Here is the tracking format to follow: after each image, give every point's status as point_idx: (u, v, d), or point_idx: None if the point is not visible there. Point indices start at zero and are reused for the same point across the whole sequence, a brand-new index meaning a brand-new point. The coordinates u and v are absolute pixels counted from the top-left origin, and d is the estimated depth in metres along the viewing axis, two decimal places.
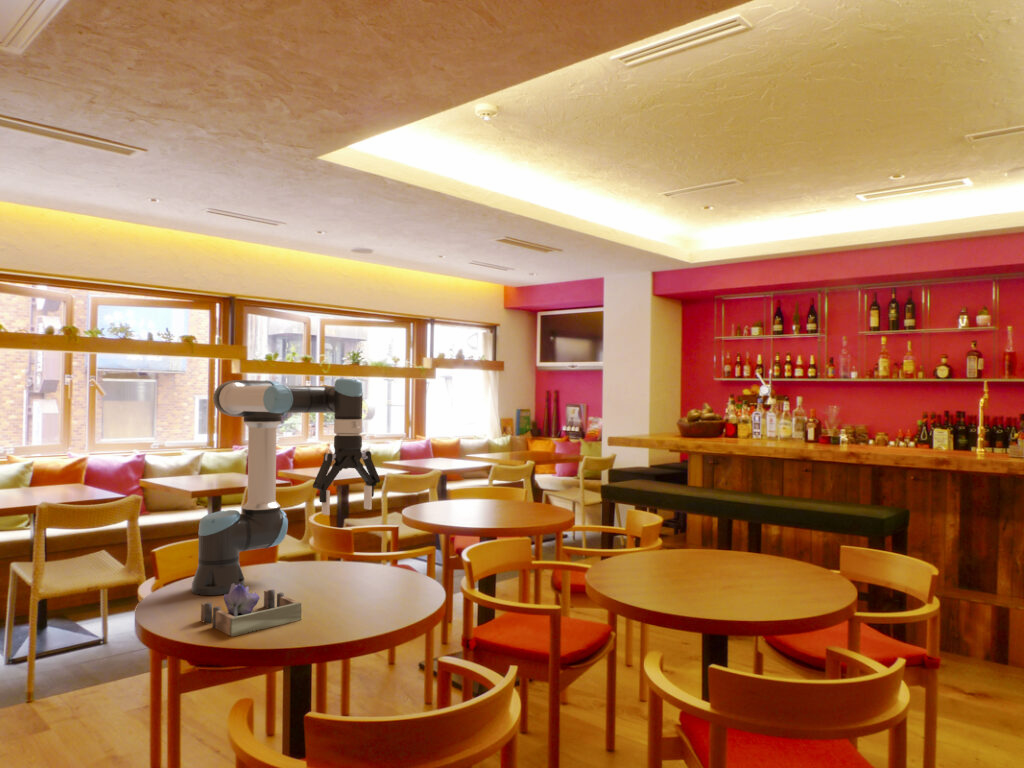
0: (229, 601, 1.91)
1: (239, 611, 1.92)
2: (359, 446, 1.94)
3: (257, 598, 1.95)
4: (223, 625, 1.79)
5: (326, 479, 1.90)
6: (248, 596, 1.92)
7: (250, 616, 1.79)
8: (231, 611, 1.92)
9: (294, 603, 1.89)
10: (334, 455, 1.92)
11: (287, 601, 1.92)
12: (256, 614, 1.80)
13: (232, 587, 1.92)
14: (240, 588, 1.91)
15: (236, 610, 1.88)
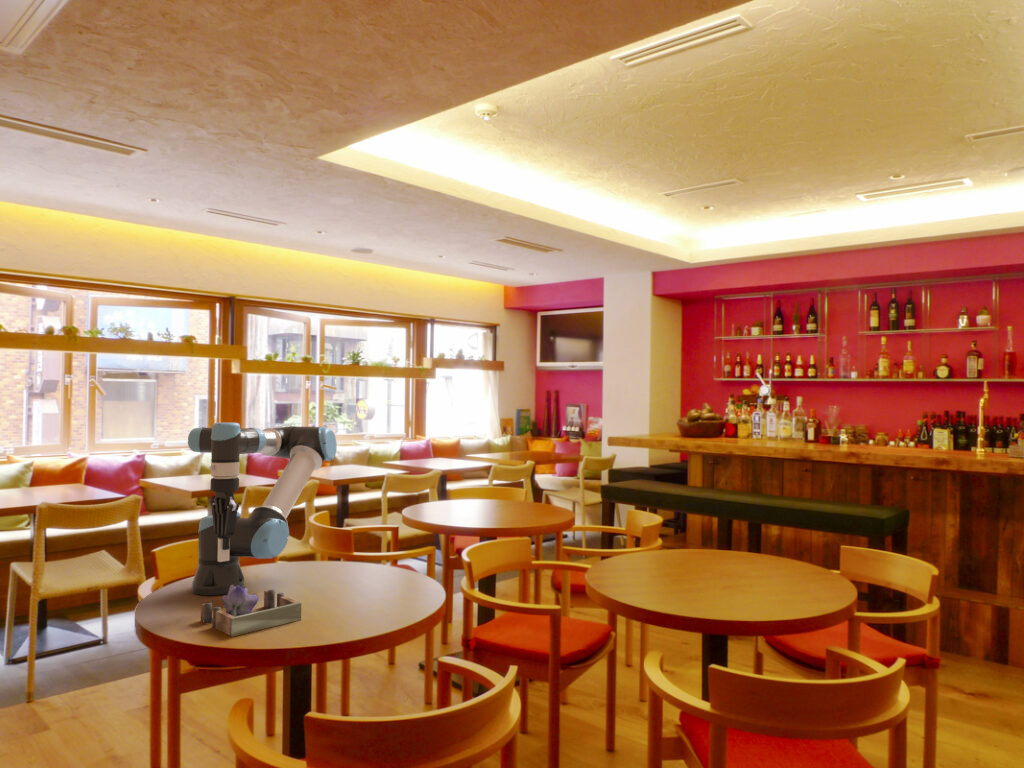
0: (228, 603, 1.89)
1: (238, 613, 1.90)
2: (214, 489, 1.97)
3: (256, 599, 1.93)
4: (223, 625, 1.79)
5: None
6: (246, 598, 1.90)
7: (250, 616, 1.79)
8: (230, 613, 1.90)
9: (294, 603, 1.89)
10: None
11: (287, 601, 1.92)
12: (256, 614, 1.80)
13: (231, 588, 1.91)
14: (239, 590, 1.90)
15: (235, 612, 1.87)
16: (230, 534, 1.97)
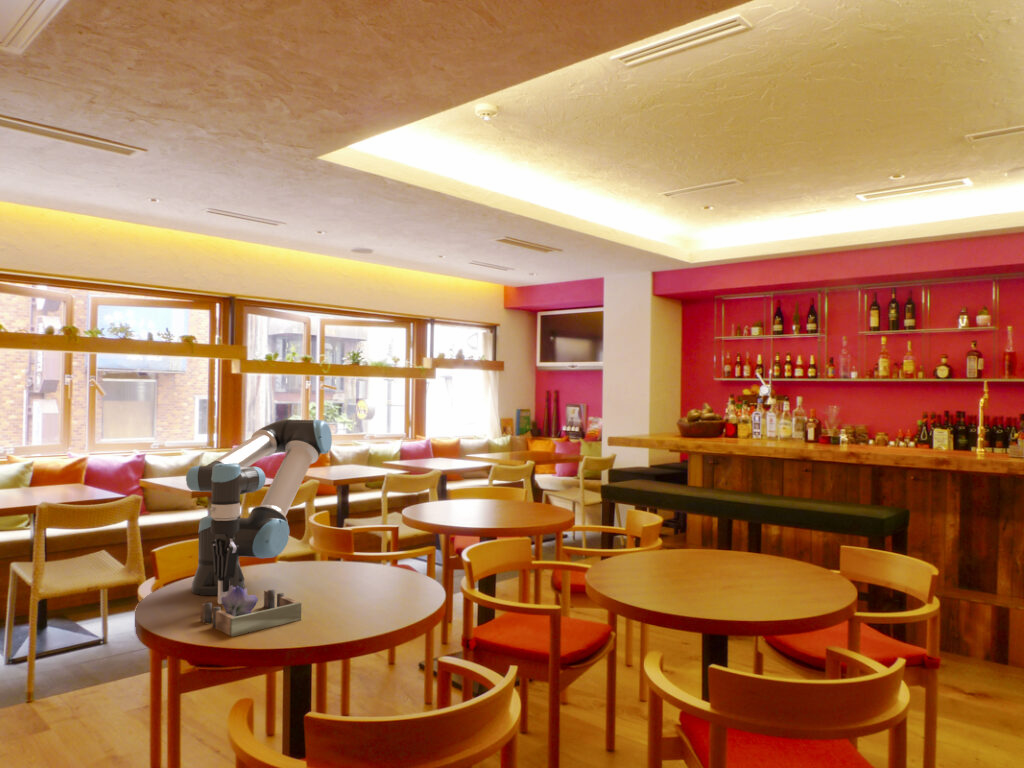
0: (228, 603, 1.89)
1: (237, 613, 1.90)
2: (214, 531, 1.96)
3: (255, 600, 1.93)
4: (223, 625, 1.79)
5: None
6: (246, 598, 1.90)
7: (250, 616, 1.79)
8: (229, 613, 1.90)
9: (294, 603, 1.89)
10: (216, 539, 2.02)
11: (287, 601, 1.92)
12: (256, 614, 1.80)
13: (230, 589, 1.90)
14: (238, 590, 1.89)
15: (234, 612, 1.86)
16: (230, 576, 1.97)
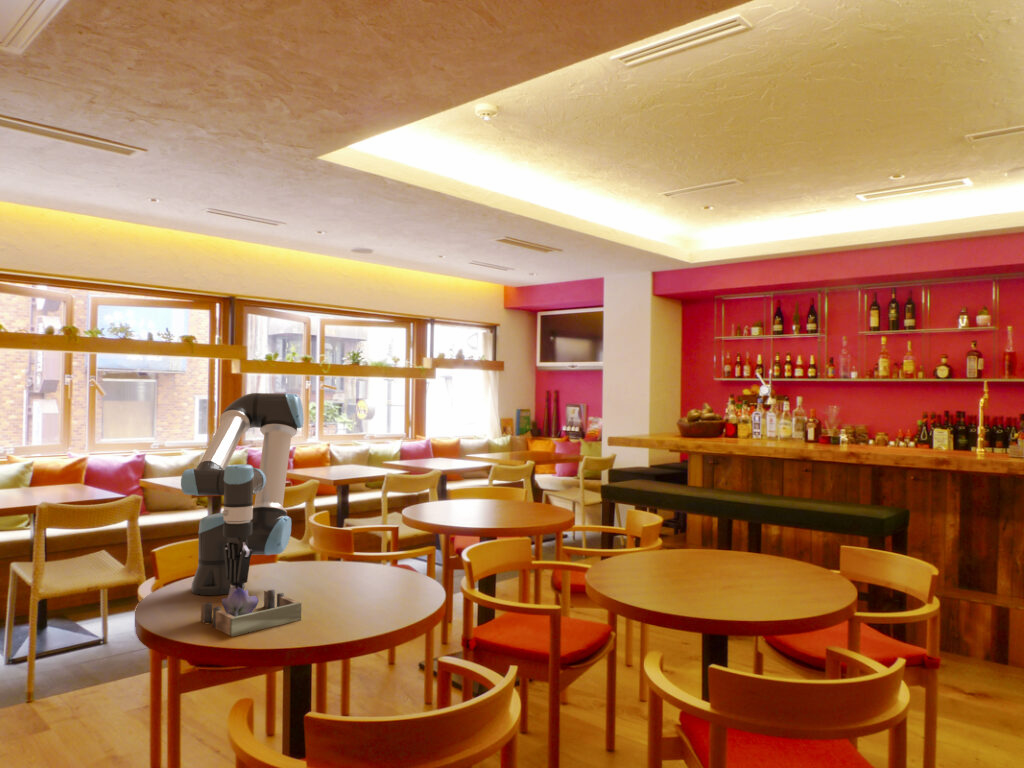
0: (229, 605, 1.87)
1: (239, 615, 1.88)
2: (227, 534, 1.91)
3: (256, 601, 1.92)
4: (223, 625, 1.79)
5: None
6: (248, 600, 1.89)
7: (250, 616, 1.79)
8: None
9: (294, 603, 1.89)
10: (228, 543, 1.97)
11: (287, 601, 1.92)
12: (256, 614, 1.80)
13: (231, 590, 1.89)
14: (240, 592, 1.88)
15: (237, 614, 1.85)
16: (243, 581, 1.91)
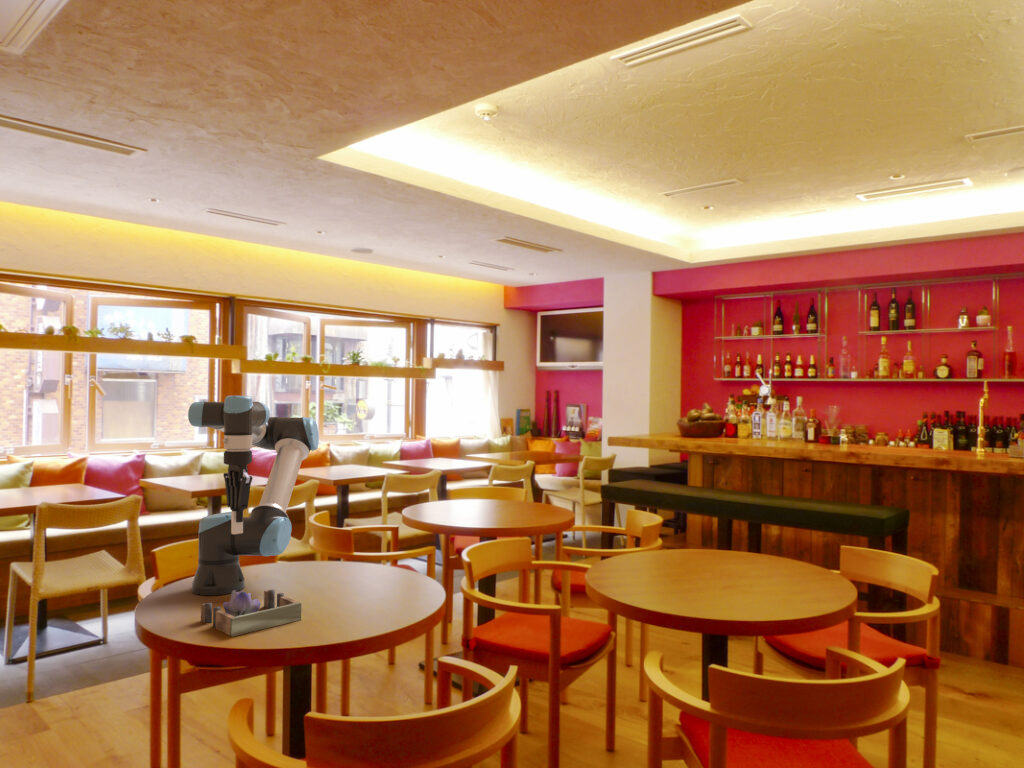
0: (232, 609, 1.84)
1: None
2: (227, 462, 1.97)
3: (259, 604, 1.89)
4: (223, 625, 1.79)
5: None
6: (251, 603, 1.86)
7: (250, 616, 1.79)
8: None
9: (294, 603, 1.89)
10: None
11: (287, 601, 1.92)
12: (256, 614, 1.80)
13: (233, 594, 1.85)
14: (243, 595, 1.85)
15: None
16: (244, 506, 1.98)
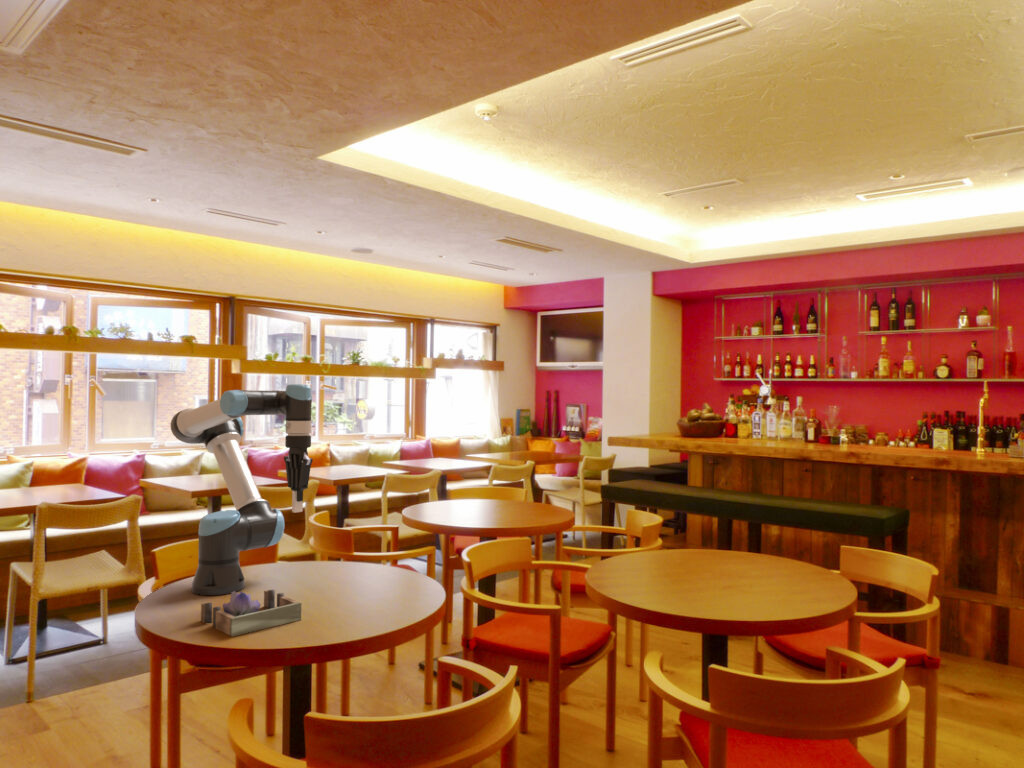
0: (231, 610, 1.83)
1: None
2: (289, 445, 2.13)
3: (259, 605, 1.88)
4: (223, 625, 1.79)
5: None
6: (251, 604, 1.85)
7: (250, 616, 1.79)
8: None
9: (294, 603, 1.89)
10: (289, 455, 2.19)
11: (287, 601, 1.92)
12: (256, 614, 1.80)
13: (233, 595, 1.84)
14: (243, 596, 1.84)
15: None
16: (304, 487, 2.14)
